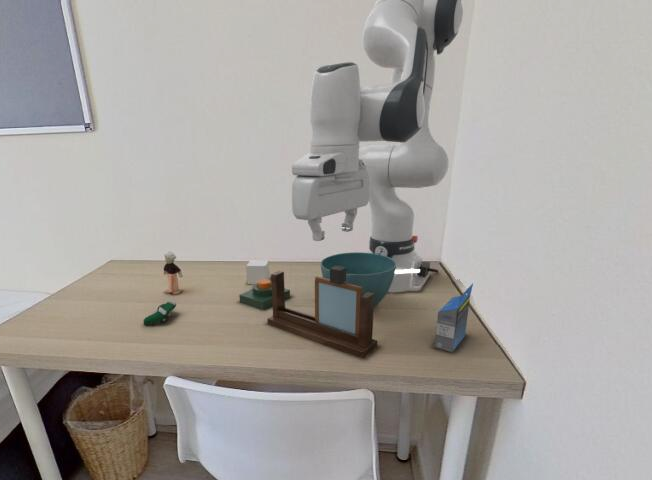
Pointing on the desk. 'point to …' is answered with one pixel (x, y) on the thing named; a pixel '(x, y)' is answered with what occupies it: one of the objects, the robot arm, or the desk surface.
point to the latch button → (264, 284)
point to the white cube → (257, 271)
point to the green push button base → (259, 297)
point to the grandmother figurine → (172, 273)
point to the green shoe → (160, 313)
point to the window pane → (337, 301)
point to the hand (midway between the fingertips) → (333, 235)
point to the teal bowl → (364, 271)
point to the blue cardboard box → (452, 322)
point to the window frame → (321, 332)
